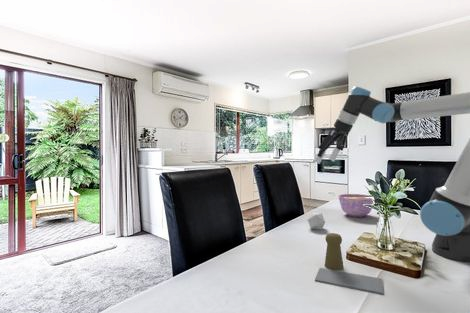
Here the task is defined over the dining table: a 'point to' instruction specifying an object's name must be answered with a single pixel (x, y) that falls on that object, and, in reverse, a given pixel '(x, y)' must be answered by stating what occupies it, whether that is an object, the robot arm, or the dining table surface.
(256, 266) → the dining table surface
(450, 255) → the robot arm
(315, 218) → the die
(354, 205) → the purple ceramic bowl
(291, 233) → the dining table surface
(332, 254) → the olive waisted cylinder
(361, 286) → the mat
